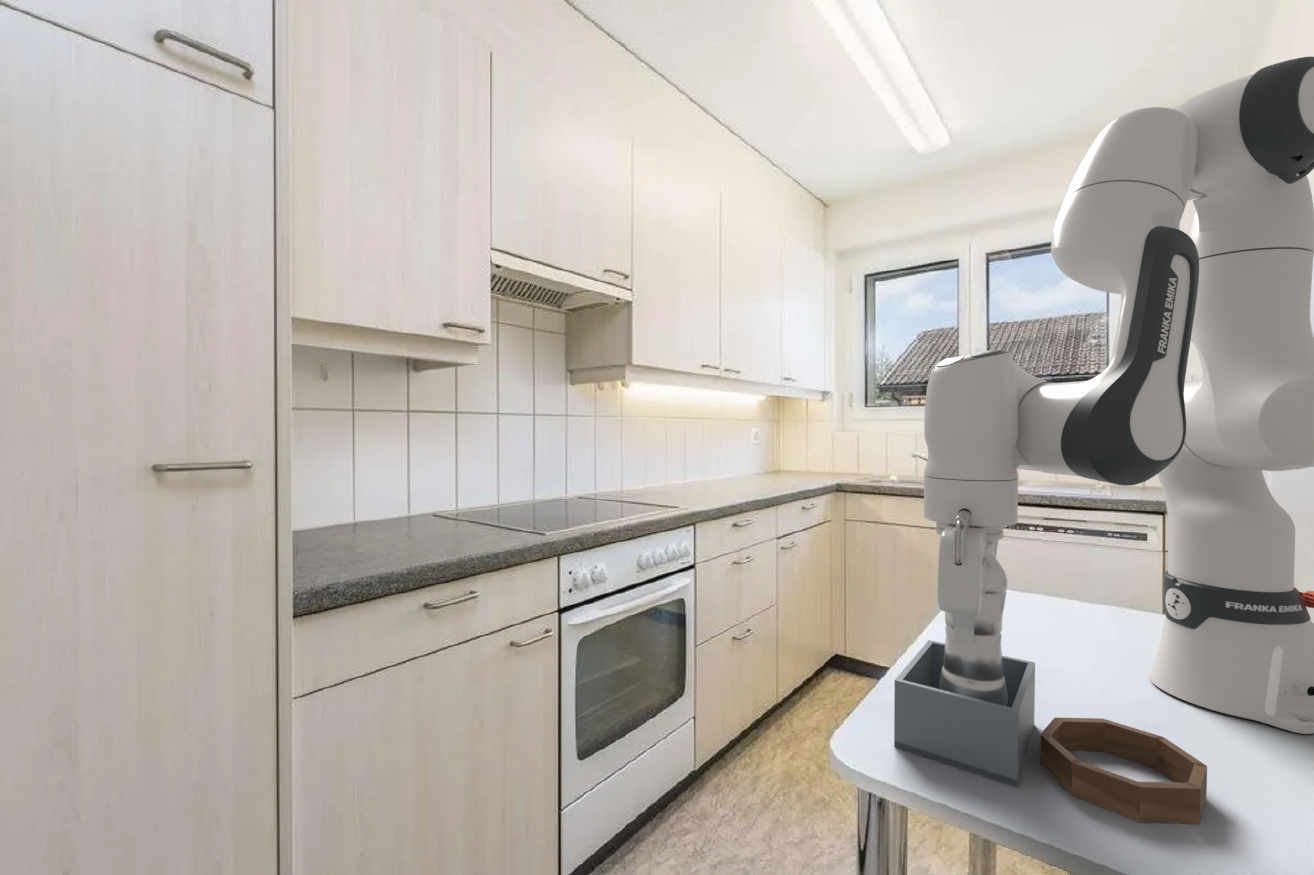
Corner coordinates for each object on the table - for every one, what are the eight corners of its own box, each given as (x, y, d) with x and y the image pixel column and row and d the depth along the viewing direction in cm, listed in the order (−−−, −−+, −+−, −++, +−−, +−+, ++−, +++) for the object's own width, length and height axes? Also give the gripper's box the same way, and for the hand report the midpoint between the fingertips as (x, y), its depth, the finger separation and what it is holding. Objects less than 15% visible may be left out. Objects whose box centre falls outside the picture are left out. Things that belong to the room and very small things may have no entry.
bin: (928, 696, 72) (928, 640, 72) (1034, 724, 65) (1035, 662, 65) (894, 746, 61) (894, 680, 61) (1017, 786, 54) (1018, 712, 54)
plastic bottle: (938, 723, 61) (939, 529, 61) (939, 697, 67) (940, 521, 67) (1011, 737, 58) (1011, 534, 58) (1004, 709, 64) (1005, 525, 64)
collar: (1136, 747, 61) (1137, 719, 60) (1242, 825, 49) (1243, 789, 49) (1020, 745, 61) (1020, 716, 61) (1097, 820, 50) (1098, 785, 49)
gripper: (997, 521, 52) (996, 675, 52) (1007, 495, 69) (1006, 611, 69) (920, 515, 55) (919, 659, 56) (948, 492, 73) (947, 602, 73)
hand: (968, 632), depth 63 cm, fingers closed on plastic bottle, 6 cm apart
